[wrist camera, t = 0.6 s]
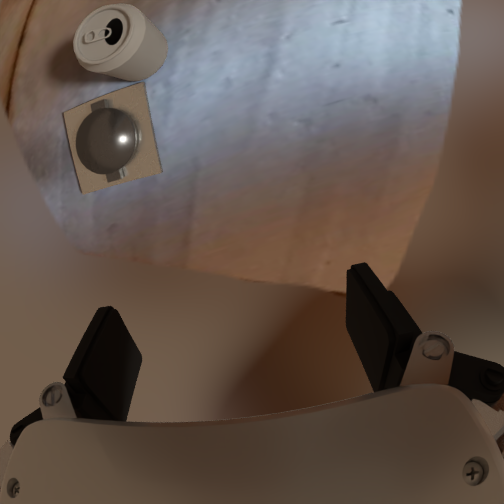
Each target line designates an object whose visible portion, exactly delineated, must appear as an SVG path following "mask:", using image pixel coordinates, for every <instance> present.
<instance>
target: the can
mask: <svg viewBox="0 0 504 504" xmlns="http://www.w3.org/2000/svg"><path fill="white" fill-rule="evenodd" d="M73 48H74V52H75V54H76V58H77V60H78V62H79V64H80V65H81V66H82V67H84V68H85V69H86V70H88V71H92V72H96V73H100V74H104V75H108V76H112V77H116V78H120V79H124V80H127V81H140V80H143V79H146V78H148V77H150V76H151V75H153V74H154V73H156V72H157V71H158V70H159V69H160V67H161V66H162V65H163V63H164V61H165V59H166V57H167V52H168V45H167V40H166V39H165V37H164V35H163V34H162V33H161V32H160V31H159V30H158V29H157V28H156V26H155V25H154V24H153V23H152V22H151V21H150V20H149V19H148V18H147V17H146V16H145V15H144V14H143V13H142V12H141V11H140V10H139V9H137V8H135V7H134V6H132V5H128V4H122V3H121V4H112V5H106V6H103V7H100V8H98V9H96V10H94V11H93V12H92V13H90V14H89V15H88V16H86V18H85V19H84V20H83V21H82V22H81V24H80V25H79V27H78V29H77V31H76V33H75V36H74V40H73Z"/></svg>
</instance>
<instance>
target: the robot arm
mask: <svg viewBox="0 0 504 504" xmlns="http://www.w3.org/2000/svg"><path fill="white" fill-rule="evenodd" d="M346 328H347V331H348V333H349V335H350V337H351V340H352V342H353V344H354V346H355V349H356V351H357V353H358V355H359V358H360V360H361V362H362V365H363V367H364V369H365V372H366V374H367V376H368V379H369V381H370V383H371V386H372V388H373V391H374V393H369V394H365V395H362V396H358V397H354V398H350V399H346V400H342V401H337V402H333V403H328V404H324V405H319V406H314V407H310V408H305V409H299V410H293V411H288V412H282V413H275V414H269V415H262V416H254V417H245V418H237V419H226V420H213V421H197V422H126V420H127V415H128V412H129V407H130V404H131V399H132V396H133V392H134V388H135V385H136V381H137V377H138V373H139V370H140V366H141V363H142V355H141V353H140V351H139V350H138V348H137V346H136V344H135V342H134V340H133V339H132V337H131V335H130V333H129V332H128V330H127V328H126V326H125V324H124V322H123V320H122V318H121V316H120V314H119V313H118V311H117V310H116V309H114V308H113V307H112V306H107V307H100V308H98V310H97V312H96V313H95V315H94V317H93V319H92V321H91V322H90V324H89V326H88V328H87V330H86V332H85V333H84V335H83V338H82V339H81V341H80V343H79V345H78V347H77V349H76V351H75V353H74V355H73V357H72V359H71V361H70V363H69V365H68V367H67V369H66V371H65V373H64V376H63V379H64V380H65V381H66V383H65V385H64V384H63V383H61V382H54V383H52V384H49V385H48V386H47V387H46V388H45V389H44V390H43V391H42V393H41V395H40V398H39V403H40V408H38V409H37V410H35V411H34V412H32V413H31V414H29V415H28V416H26V417H25V418H23V419H22V420H20V421H19V422H18V423H16V424H15V425H14V426H13V428H12V430H11V433H10V441H11V442H9V441H7V442H6V443H5V444H4V445H3V446H2V448H1V449H0V504H504V367H503V366H501V365H500V364H498V363H495V362H492V361H488V360H484V359H480V358H477V357H473V356H469V355H466V354H463V353H459V352H456V351H454V344H453V342H452V340H451V339H450V338H449V337H448V336H447V335H445V334H443V333H440V332H436V331H429V332H425V333H422V332H421V330H420V329H419V327H418V326H417V324H416V323H415V322H414V320H413V319H412V317H411V316H410V315H409V313H408V312H407V310H406V309H405V308H404V306H403V305H402V303H401V302H400V301H399V299H398V298H397V297H396V296H395V294H394V293H393V292H392V291H387V290H386V288H385V287H384V286H383V284H382V283H381V282H380V280H379V279H378V278H377V276H376V275H375V274H374V272H373V271H372V270H371V268H370V267H369V266H368V264H367V263H365V262H364V263H359V264H355V265H352V266H351V269H349V270H347V293H346Z"/></svg>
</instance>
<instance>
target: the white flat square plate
mask: <svg viewBox="0 0 504 504" xmlns="http://www.w3.org/2000/svg"><path fill="white" fill-rule="evenodd" d="M64 118H65V123H66V128H67V133H68V138H69V143H70V147H71V152H72V156H73V160H74V164H75V168H76V172H77V176H78V179H79V183H80V187H81V190H82V194H83V195H84V194H87V193H90V192H93V191H97V190H100V189H103V188H107V187H110V186H113V185H117V184H121V183H124V182H128V181H132V180H135V179H139V178H143V177H147V176H151V175H155V174H159V173H162V172H163V169H162V165H161V161H160V156H159V152H158V147H157V142H156V138H155V133H154V128H153V123H152V118H151V113H150V107H149V102H148V97H147V91H146V85H145V82H141V83H138V84H135V85H132V86H129V87H126V88H123V89H120V90H117V91H115V92H112V93H109V94H106V95H104V96H101V97H99V98H96V99H94V100H91V101H89V102H87V103H84V104H82V105H80V106H77V107H75V108H73V109H71V110H68V111H66V112H64Z"/></svg>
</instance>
